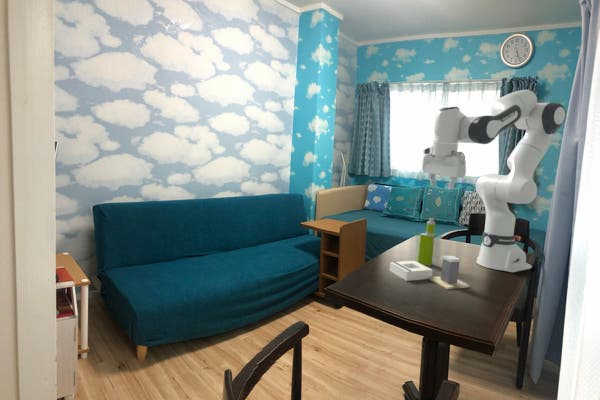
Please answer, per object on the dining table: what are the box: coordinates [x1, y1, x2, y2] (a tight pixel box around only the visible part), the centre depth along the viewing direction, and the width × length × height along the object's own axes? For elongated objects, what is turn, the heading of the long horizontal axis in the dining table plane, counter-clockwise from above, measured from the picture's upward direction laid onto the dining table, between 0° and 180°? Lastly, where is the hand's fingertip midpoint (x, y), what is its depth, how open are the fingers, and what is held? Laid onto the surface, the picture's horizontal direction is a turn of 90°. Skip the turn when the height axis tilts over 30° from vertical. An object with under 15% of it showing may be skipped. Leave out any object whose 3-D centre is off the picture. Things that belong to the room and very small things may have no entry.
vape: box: [417, 217, 436, 267], centre depth 160 cm, size 4×6×20 cm, turn 49°
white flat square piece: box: [389, 260, 433, 282], centre depth 146 cm, size 11×11×4 cm
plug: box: [440, 255, 461, 284], centre depth 138 cm, size 4×4×9 cm
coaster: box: [428, 275, 471, 290], centre depth 139 cm, size 10×10×1 cm
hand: (441, 187), depth 145 cm, fingers open, 8 cm apart
